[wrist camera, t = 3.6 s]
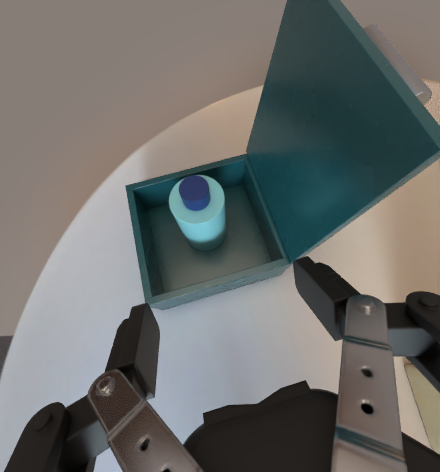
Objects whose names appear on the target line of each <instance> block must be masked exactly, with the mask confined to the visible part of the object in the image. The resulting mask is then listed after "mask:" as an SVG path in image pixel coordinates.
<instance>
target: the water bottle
mask: <svg viewBox="0 0 440 472" xmlns="http://www.w3.org/2000/svg"><path fill="white" fill-rule="evenodd" d="M169 207H170V210H171V212H172V214H173V215H174V217H175V219H176V221H177V223H178V225H179V227H180V229H181V231H182V232H183V234H184V236H185V238H186V240H187V242H188V243H189V244H190V246H192V247H193V248H195V249H197V250H200V251H209V250H213V249H215V248H217V247H218V246H219V245H221V243H222V242H223V241H224V239H225V236H226V215H225V196H224V192H223V189H222V187H221V186H220V184H219V183H218V182H217V181H215V180H214V179H212V178H210V177H208V176H204V175H192V176H188V177H186V178H184V179H182V180H180V181H179V182H178V183H177V184H176V185H175V186H174V187H173V189H172V191H171V193H170V196H169Z"/></svg>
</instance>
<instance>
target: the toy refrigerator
mask: <svg viewBox="0 0 440 472" xmlns="http://www.w3.org/2000/svg"><path fill="white" fill-rule="evenodd" d="M405 369H406V373H407V376H408V379H409V382H410V385H411V388H412V390H413V393H414V396H415V399H416V402H417V405H418V408H419V411H420V414H421V417H422V420H423V423H424V426H425V429H426V432H427V435H428V438H429V441H430V444H431V446H432V448H433V449H434V451H435V452H437V453H438V454H440V393H439V392H438V391H437V390H436V389H435V388H434V387H433V385H432V384H431V383H430V382H429V381H428V380H427V379H426V378H425V377H424V376H423V375H422V374H421V373H420V371H419V370H418V369H417V368H416V367H415V366H414V365H413V364H408V365H405Z"/></svg>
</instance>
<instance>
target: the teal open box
mask: <svg viewBox="0 0 440 472" xmlns="http://www.w3.org/2000/svg"><path fill="white" fill-rule="evenodd" d="M192 175H204V176H208V177H210V178H212V179H214V180H215V181H217V182H218V183H219V184H220V186H221V187H222V189H223V192H224V196H225V215H226V236H225V239H224V241H223V242H222V243H221V245H219V246H218V247H217V248H215V249H213V250H209V251H200V250H197V249H195V248H193V247H192V246H190V244H189V243H188V242H187V240H186V238H185V236H184V234H183V232H182V231H181V229H180V227H179V225H178V223H177V221H176V219H175V217H174V215H173V214H172V212H171V210H170V207H169V196H170V193H171V191H172V189H173V187H174V186H175V185H176V184H177V183H178V182H179V181H180V180H182V179H184V178H186V177H188V176H192ZM126 191H127V197H128V203H129V209H130V215H131V221H132V227H133V233H134V239H135V245H136V250H137V256H138V262H139V268H140V274H141V280H142V286H143V292H144V297H145V303H148V304H149V306H150V307H151V308H156V309H161V310H165V309H168V308H171V307H175V306H178V305H181V304H185V303H188V302H191V301H195V300H198V299H202V298H205V297H208V296H212V295H215V294H218V293H222V292H225V291H228V290H232V289H235V288H239V287H242V286H245V285H249V284H252V283H255V282H259V281H262V280H265V279H269V278H272V277H275V276H279V275H281V274H282V273H283V272H284V271H285V270H286V269H287V268H289V267H290V266H291V265H292V264H293V262H292V263H291V261H290V259H289V256H288V254H287V251H286V249H285V247H284V244H283V242H282V239H281V237H280V234H279V232H278V229H277V227H276V224H275V222H274V219H273V217H272V214H271V212H270V209H269V207H268V204H267V202H266V199H265V197H264V194H263V192H262V189H261V187H260V184H259V182H258V179H257V177H256V174H255V172H254V169H253V167H252V164H251V162H250V159H249V157H248V154H243V155H240V156H236V157H232V158H228V159H225V160H221V161H217V162H213V163H210V164H206V165H202V166H198V167H195V168H191V169H187V170H183V171H179V172H176V173H172V174H168V175H164V176H161V177H157V178H153V179H149V180H146V181H142V182H138V183H134V184H130V185H127V186H126Z"/></svg>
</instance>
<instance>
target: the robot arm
mask: <svg viewBox="0 0 440 472" xmlns="http://www.w3.org/2000/svg"><path fill="white" fill-rule="evenodd" d="M293 267H294V276H295V284H296V288H297V290H298V292H299V294H300V295H301V297H302V298H303V299H304V301H305V302H306V303H307V305H308V306H309V307H310V309H311V310H312V311H313V313H314V314H315V315H316V317H317V318H318V319H319V320H320V322H321V323H322V324H323V326H324V327H325V328H326V330H327V331H328V332H329V334H330V335H331V336H332V338H333V339H334V340H335V341H338V340H341V339H343V344H342V356H341V368H340V380H339V392H338V394H335V393H333V392H330V391H326V390H321V389H310V388H309V386H308V384H307V382H306V380H305V381H302V382H299V383H296V384H292V385H289V386H286V387H283V388H280V389H279V390H277V391H276V392H274V393H273V394H272V395H270V396H269V397H267V398H266V399H264V400H263V401H261V402H260V403H257V404H245V405H227V406H224V407H221V408H218V409H215V410H212V411H209V412H206V413H203V418H204V424H202V425H201V426H199V427H198V428H197V429H196V430H195V431H194V432H193V433H192V434H191V435H190V436H189V437H188V439H187V440H186V441H185V443H184V444H183V445H182V444H181V442H180V441H179V440H178V439H177V437H176V436H175V435H174V434H173V432H172V431H171V430H170V429H169V427H168V426H167V425H166V424H165V422H164V421H163V420H162V419H161V418H160V416H159V415H158V414H157V413H156V411H155V410H154V409H153V408H152V406H151V405H150V404H149V403H148V402H147V400H148V399H151V398H154V397H155V388H156V376H157V364H158V352H159V340H160V331H159V326H158V323H157V321H156V319H155V317H154V315H153V313H152V310H151V308H150V306H149V304H148V303H144V304H141V305H137V306H134V307H132V309H131V313H130V316H129V318H128V319H125V320H123V322H122V323H121V325H120V326H119V327H118V329H117V333H116V336H115V339H114V343H113V346H112V349H111V353H110V356H109V359H108V363H107V366H106V369H105V373H103V374H102V375H101V376H99V377H98V378H97V379H96V380H95V381H94V382H93V384H92V385H91V387H90V389H89V391H88V395H86V396H85V397H83V398H81V399H80V400H78V401H76V402H75V403H73V404H71V405H70V406H68V407H65V406H64V405H63V404H62V403H60V402H55V403H51V404H49V405H47V406H45V407H44V408H42V409H41V410H40V411H38V412H37V413H36V414H35V415H34V416H33V417H32V418H31V419H30V421H29V422H28V423H27V425H26V426H25V428H24V430H23V432H22V435H21V437H20V439H19V441H18V443H17V445H16V447H15V449H14V452H13V454H12V456H11V458H10V460H9V462H8V464H7V467H6V469H5V471H4V472H93V471H94V466H95V461H96V456H98V455H99V454H100V453H102V452H103V451H105V450H106V449H108V448H109V447H110V448H111V450H112V452H113V454H114V456H115V458H116V460H117V461H118V463H119V465H120V467H121V469H122V471H123V472H440V454H438V453H437V452H435V451H433V450H432V449H430V448H428V447H426V446H425V445H423V444H421V443H420V442H418V441H416V440H415V439H413V438H411V437H410V436H408V435H406V434H405V433H403V432H401V426H400V416H399V407H398V397H397V388H396V378H395V369H394V360H393V356H406V358H407V359H408V360H409V361H410V362H411V363H412V364H413V365H414V366H415V367H416V368H417V369H418V370H419V371H420V373H421V374H422V375H423V376H424V377H425V378H426V379H427V380H428V381H429V382H430V383H431V384H432V385H433V387H434V388H435V389H436V390H437V391H438V392H439V393H440V296H439V295H437V294H434V293H430V292H422V291H419V292H413V293H410V294H409V295H408V296H407V297H406V303H383V302H382V301H380V300H379V299H377V298H375V297H373V296H370V295H361V294H360V293H359V292H358V291H357V290H356V289H354V288H353V287H352V286H351V285H350V284H349V283H348V282H347V281H345V280H344V279H343V278H341V276H340V275H339V274H337V273H336V272H335V271H334V270H333V269H332V268H331V267H330V266H328V265H325V264H323V263H320V262H319V263H314V262H313V261H312V260H311V259H310V258H309V257H308V256H306V257H303V258H299V259H296V260H294V261H293Z"/></svg>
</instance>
